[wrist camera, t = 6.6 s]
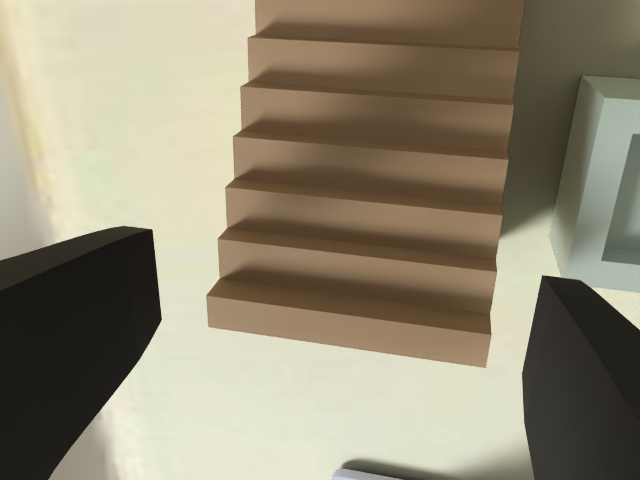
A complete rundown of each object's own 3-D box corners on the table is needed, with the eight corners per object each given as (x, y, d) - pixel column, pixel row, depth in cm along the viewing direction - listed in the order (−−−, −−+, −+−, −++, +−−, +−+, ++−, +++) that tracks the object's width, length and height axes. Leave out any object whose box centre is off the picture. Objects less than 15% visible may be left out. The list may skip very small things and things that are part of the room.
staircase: (480, 248, 17) (485, 368, 12) (280, 225, 19) (208, 326, 13) (525, -52, 14) (559, -60, 9) (278, -57, 15) (182, -67, 10)
